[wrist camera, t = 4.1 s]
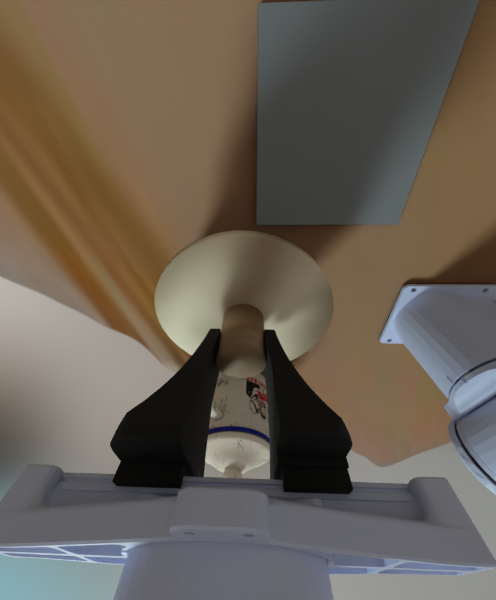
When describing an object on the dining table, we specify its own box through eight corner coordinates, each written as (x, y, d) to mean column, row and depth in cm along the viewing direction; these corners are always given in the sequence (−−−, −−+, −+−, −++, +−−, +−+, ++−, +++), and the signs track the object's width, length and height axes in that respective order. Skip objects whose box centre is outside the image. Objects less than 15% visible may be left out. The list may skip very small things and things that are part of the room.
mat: (472, 1, 12) (481, -6, 11) (394, 222, 19) (397, 224, 18) (258, 9, 12) (258, 3, 12) (256, 223, 19) (256, 225, 18)
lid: (358, 238, 12) (400, 283, 8) (306, 365, 19) (317, 416, 16) (139, 222, 12) (90, 261, 8) (173, 357, 19) (155, 407, 16)
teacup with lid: (278, 393, 33) (287, 491, 23) (226, 405, 35) (215, 499, 26) (245, 342, 27) (239, 444, 17) (185, 360, 29) (151, 460, 20)
